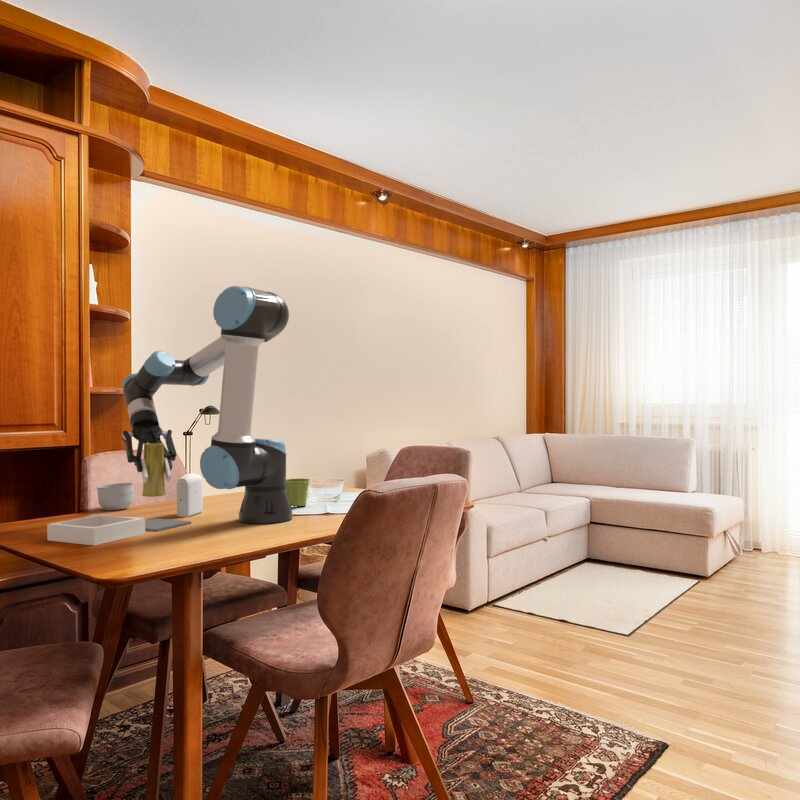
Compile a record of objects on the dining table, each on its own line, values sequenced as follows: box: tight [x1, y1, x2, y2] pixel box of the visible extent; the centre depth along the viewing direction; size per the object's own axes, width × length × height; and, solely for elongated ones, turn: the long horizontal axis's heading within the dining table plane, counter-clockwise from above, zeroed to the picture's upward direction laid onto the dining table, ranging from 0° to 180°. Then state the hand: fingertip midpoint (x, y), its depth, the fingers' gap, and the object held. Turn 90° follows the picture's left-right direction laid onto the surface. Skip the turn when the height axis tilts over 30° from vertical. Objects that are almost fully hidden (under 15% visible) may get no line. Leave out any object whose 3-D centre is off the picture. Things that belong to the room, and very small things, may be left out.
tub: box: [46, 514, 146, 546], centre depth 172 cm, size 16×16×4 cm
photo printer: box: [176, 473, 204, 518], centre depth 207 cm, size 10×4×12 cm, turn 168°
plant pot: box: [286, 478, 311, 507], centre depth 222 cm, size 9×9×9 cm
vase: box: [141, 442, 167, 498], centre depth 188 cm, size 6×6×14 cm
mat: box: [145, 518, 192, 532], centre depth 188 cm, size 13×13×1 cm
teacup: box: [96, 482, 134, 511], centre depth 221 cm, size 14×11×8 cm
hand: (157, 479), depth 185 cm, fingers closed on vase, 5 cm apart
